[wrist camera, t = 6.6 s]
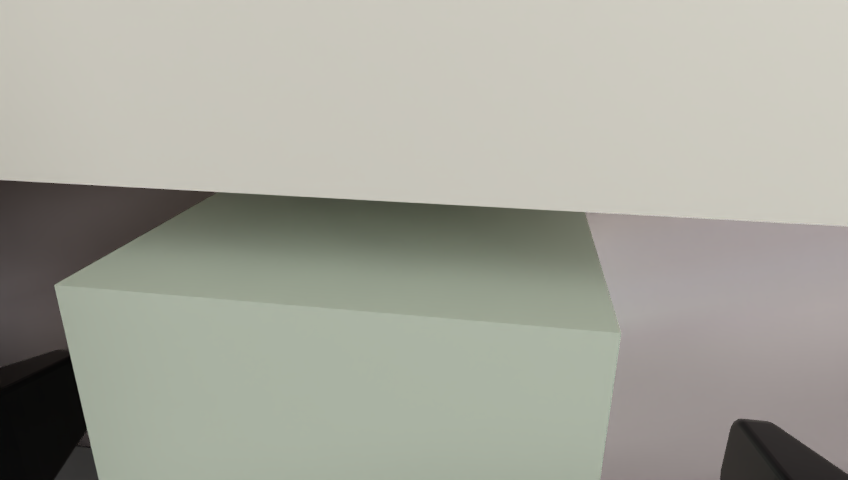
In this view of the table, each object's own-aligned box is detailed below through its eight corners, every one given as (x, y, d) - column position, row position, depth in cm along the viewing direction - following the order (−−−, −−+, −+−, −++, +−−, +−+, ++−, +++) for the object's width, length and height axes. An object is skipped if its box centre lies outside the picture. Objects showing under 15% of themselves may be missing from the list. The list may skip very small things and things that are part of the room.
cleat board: (644, 559, 12) (725, 922, 7) (-13, 469, 14) (-290, 700, 9) (747, 3, 8) (1050, -16, 3) (-161, -1, 10) (-738, -16, 6)
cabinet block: (542, 484, 11) (554, 799, 7) (294, 454, 12) (154, 720, 8) (573, 176, 9) (621, 332, 5) (271, 161, 10) (53, 284, 5)
